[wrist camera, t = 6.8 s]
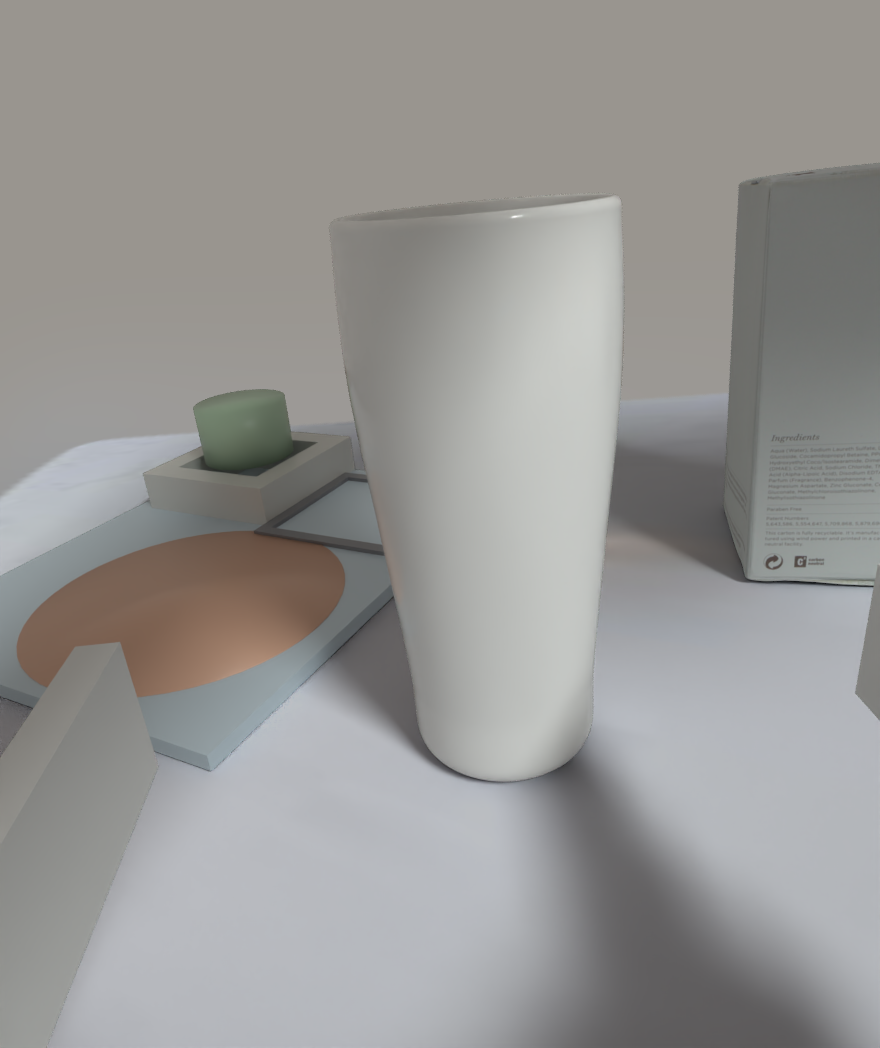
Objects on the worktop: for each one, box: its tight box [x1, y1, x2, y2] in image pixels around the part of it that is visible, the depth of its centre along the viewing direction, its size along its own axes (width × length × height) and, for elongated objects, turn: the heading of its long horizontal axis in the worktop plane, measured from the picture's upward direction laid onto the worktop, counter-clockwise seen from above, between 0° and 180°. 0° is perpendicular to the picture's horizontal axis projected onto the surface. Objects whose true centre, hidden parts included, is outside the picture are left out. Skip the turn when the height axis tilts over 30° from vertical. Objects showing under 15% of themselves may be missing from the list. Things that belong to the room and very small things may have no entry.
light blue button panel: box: [0, 468, 394, 771], centre depth 36 cm, size 18×22×1 cm
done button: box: [193, 389, 294, 470], centre depth 41 cm, size 5×5×3 cm
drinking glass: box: [329, 193, 624, 782], centre depth 20 cm, size 7×7×15 cm
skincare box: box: [723, 163, 880, 586], centre depth 30 cm, size 8×6×15 cm
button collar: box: [143, 432, 355, 525], centre depth 42 cm, size 8×8×2 cm
